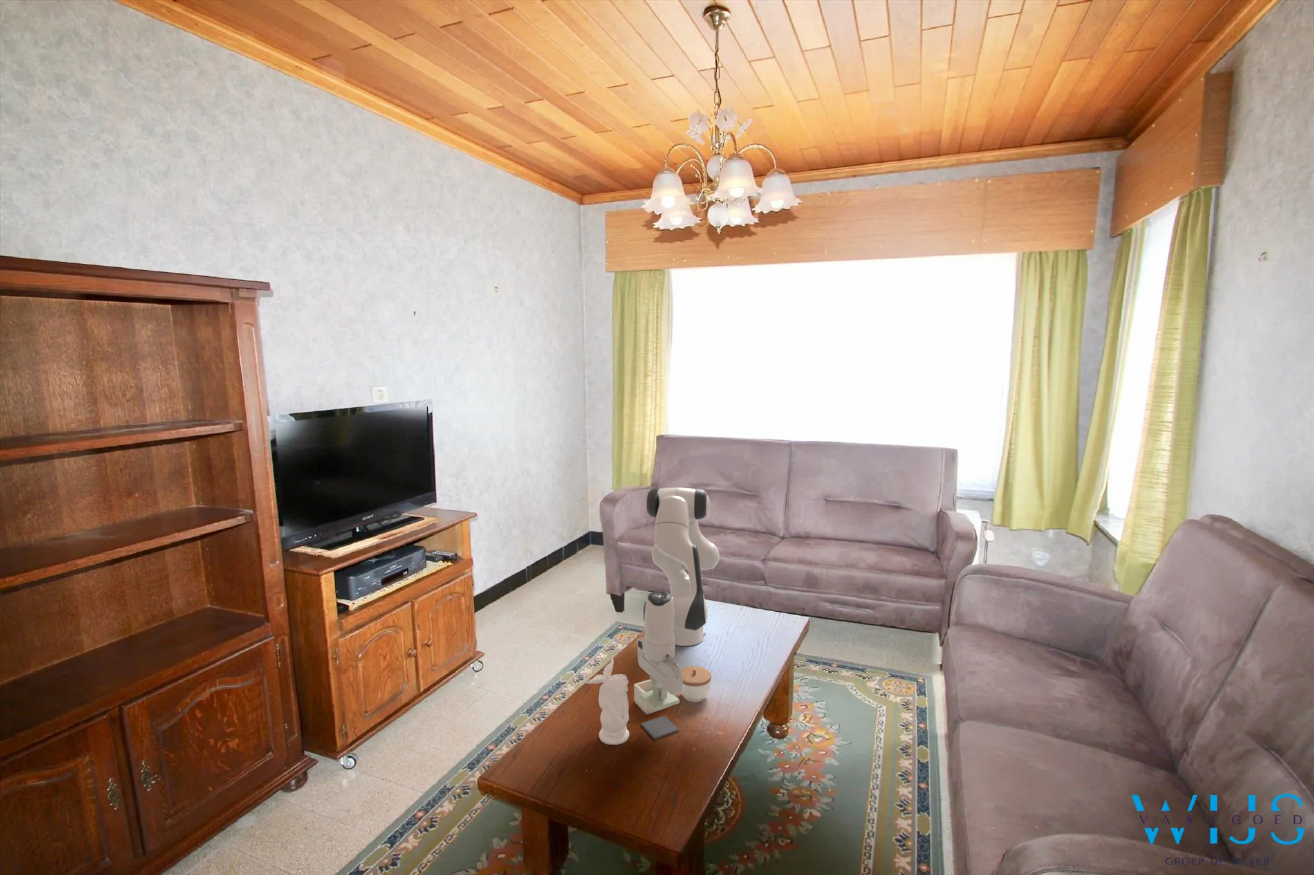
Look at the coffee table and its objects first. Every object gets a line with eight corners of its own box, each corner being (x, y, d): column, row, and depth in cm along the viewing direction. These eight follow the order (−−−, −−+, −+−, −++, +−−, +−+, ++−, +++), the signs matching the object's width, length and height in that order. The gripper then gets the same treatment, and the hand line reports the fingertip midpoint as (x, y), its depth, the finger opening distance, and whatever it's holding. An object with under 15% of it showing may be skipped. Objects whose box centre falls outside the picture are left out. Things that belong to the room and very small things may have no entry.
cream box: (634, 701, 193) (634, 684, 192) (656, 695, 197) (656, 677, 196) (646, 714, 186) (646, 696, 185) (669, 707, 190) (669, 689, 189)
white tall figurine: (631, 747, 171) (631, 673, 168) (586, 751, 169) (585, 677, 166) (626, 721, 183) (626, 652, 179) (584, 725, 181) (583, 655, 178)
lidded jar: (708, 708, 190) (709, 679, 188) (674, 704, 192) (674, 676, 191) (712, 690, 200) (713, 663, 199) (680, 686, 202) (680, 659, 201)
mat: (641, 725, 181) (641, 723, 181) (664, 717, 185) (664, 715, 185) (654, 739, 174) (654, 737, 174) (678, 731, 178) (678, 729, 178)
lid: (639, 697, 180) (639, 682, 179) (664, 689, 184) (664, 675, 183) (654, 711, 172) (654, 696, 172) (679, 703, 177) (679, 688, 176)
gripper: (688, 661, 169) (688, 708, 170) (652, 633, 186) (652, 676, 188) (668, 666, 166) (668, 714, 167) (633, 637, 183) (634, 681, 185)
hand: (659, 694), depth 178 cm, fingers closed on lid, 3 cm apart
